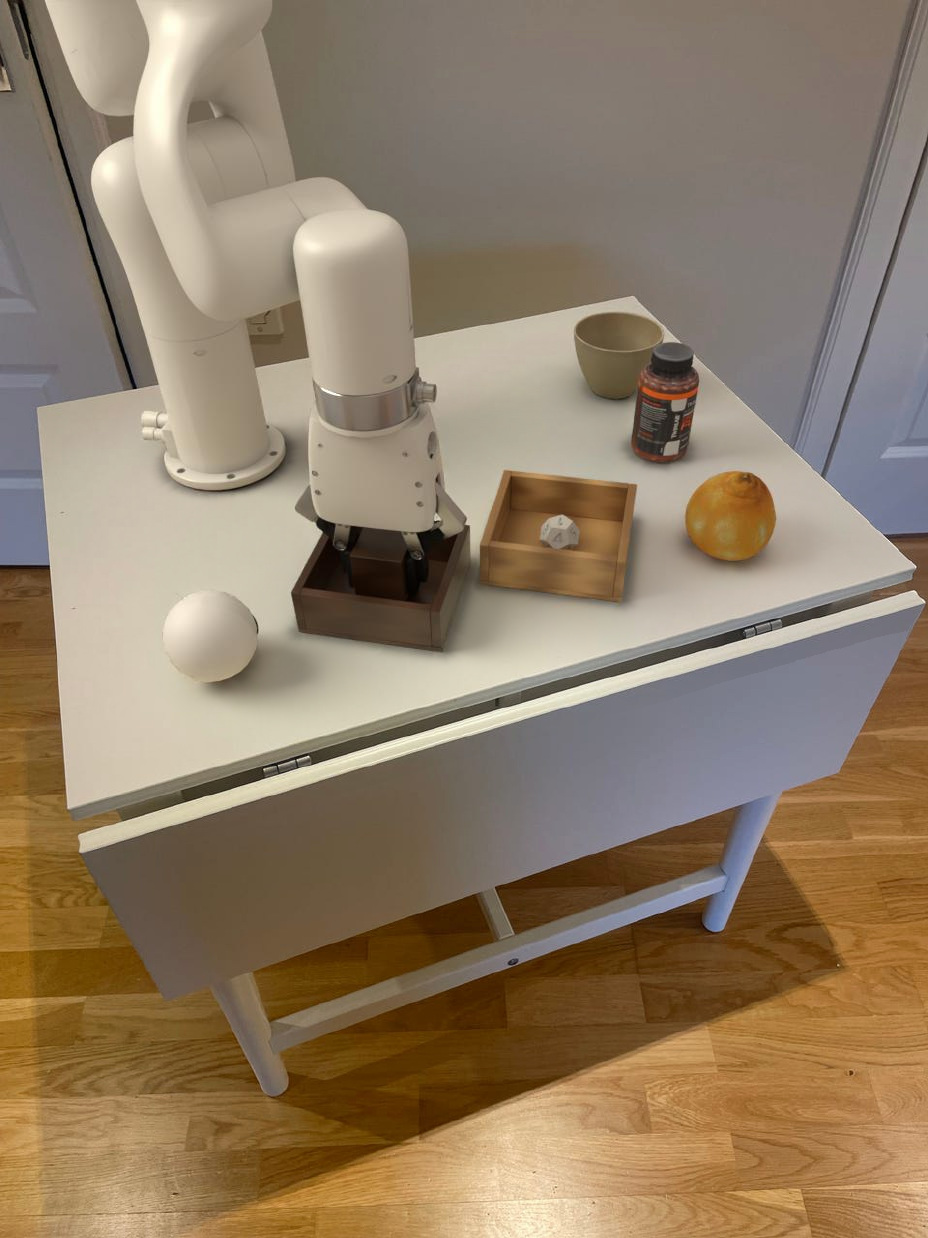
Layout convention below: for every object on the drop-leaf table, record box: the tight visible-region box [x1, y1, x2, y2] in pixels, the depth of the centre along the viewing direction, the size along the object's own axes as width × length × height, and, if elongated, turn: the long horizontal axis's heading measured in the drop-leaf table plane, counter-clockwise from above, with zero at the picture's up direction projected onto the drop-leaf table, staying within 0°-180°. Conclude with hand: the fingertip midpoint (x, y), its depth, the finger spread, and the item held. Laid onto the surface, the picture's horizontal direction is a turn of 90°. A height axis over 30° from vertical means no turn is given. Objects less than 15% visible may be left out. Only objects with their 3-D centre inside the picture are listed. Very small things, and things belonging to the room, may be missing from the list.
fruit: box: [684, 470, 777, 562], centre depth 83 cm, size 8×8×8 cm
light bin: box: [479, 469, 638, 603], centre depth 83 cm, size 13×12×4 cm
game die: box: [539, 515, 580, 550], centre depth 83 cm, size 4×4×3 cm
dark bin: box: [290, 520, 472, 653], centre depth 79 cm, size 13×12×4 cm
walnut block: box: [350, 527, 409, 602], centre depth 78 cm, size 4×4×4 cm
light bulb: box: [162, 589, 259, 683], centre depth 73 cm, size 10×7×7 cm
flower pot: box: [573, 311, 665, 400], centre depth 104 cm, size 10×10×7 cm
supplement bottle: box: [630, 341, 700, 463], centre depth 93 cm, size 6×6×11 cm
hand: (387, 579), depth 79 cm, fingers closed on walnut block, 4 cm apart
